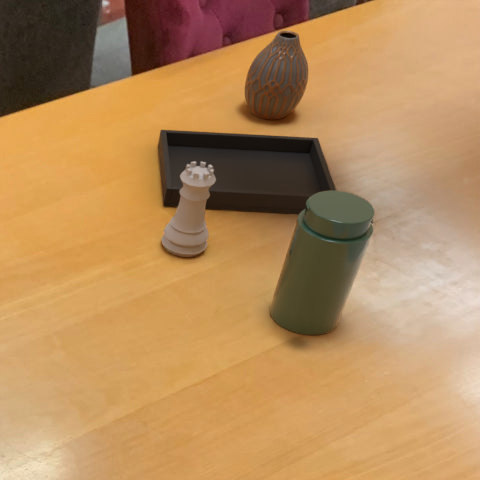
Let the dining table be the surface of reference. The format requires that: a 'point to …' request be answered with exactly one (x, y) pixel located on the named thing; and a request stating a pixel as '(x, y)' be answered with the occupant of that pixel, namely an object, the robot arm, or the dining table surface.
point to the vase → (277, 77)
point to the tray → (246, 169)
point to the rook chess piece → (190, 213)
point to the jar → (322, 262)
